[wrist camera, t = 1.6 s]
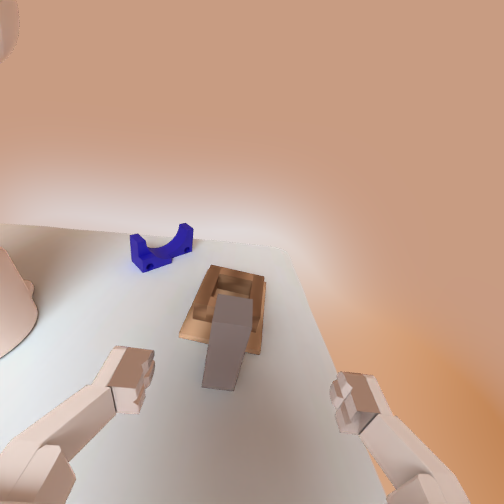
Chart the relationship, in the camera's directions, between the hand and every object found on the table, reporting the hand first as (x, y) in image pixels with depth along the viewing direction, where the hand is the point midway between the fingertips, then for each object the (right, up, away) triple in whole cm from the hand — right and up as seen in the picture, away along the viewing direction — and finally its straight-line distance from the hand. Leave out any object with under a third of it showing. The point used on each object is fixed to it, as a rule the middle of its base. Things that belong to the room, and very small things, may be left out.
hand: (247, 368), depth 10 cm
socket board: (-4, -5, +31) cm, 32 cm away
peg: (-4, -11, +21) cm, 24 cm away
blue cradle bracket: (-18, +4, +40) cm, 44 cm away
